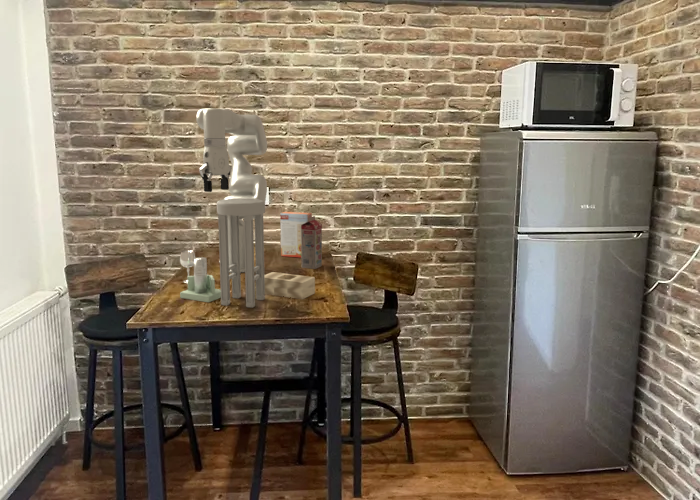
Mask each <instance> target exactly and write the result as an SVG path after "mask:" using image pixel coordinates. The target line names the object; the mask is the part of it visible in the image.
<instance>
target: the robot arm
mask: <svg viewBox="0 0 700 500" xmlns="http://www.w3.org/2000/svg"><path fill="white" fill-rule="evenodd" d="M195 121H196V124H197V126H198V127H199V128H200V129H201V130H203V142H204V143H203V145H204V147H203V154H202V156H203V157H202V166H201V167H199V169H198V171H199V174H200V177H201V179H202V181H203V191H204V193H205V192H206V193H212V192H213V184H212V183H213V181H212V180H211V179H212V177H213V176H220V189H221V190H223V191H226V190H228V191H229V193H230V195H227V196H226V197H224V198H223V199H222V200H224V199H243V198H245V199H259V200H263V201H264V202H265V203H266V200H267V194H268V193H267V192H268V182H267V179H266V177H265V176H264V175H262V174H253V173H252V171H253V166H252V165H251V163H250V162H249V160H248V159H247V158H245V156H261V155H265V153H267V149H268V142H267V141H268V139H267V136H266V131H265V128H264V124H263V121H262V119H261V117H260V116H259V115H257V114H238V113H237V112H235V111H233V110H231V109H229V108H216V107H214V108H212V107H211V108H210V107H209V108H201V109H199V110H198V111H197V113H196V118H195ZM226 134H230V135H231V136H229V137H228V138H227V140H226ZM244 155H245V156H244ZM230 162H231V165H230ZM227 217H228V249H229V266H230V265H231V234H230V216H229V215H227ZM253 220H255V215H253ZM239 242H240V274H241V273H245V244H244V216H239ZM218 264H220V260H219V261H218ZM229 274H232V270H230V271H229Z"/></svg>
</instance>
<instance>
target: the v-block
mask: <svg viewBox="0 0 700 500" xmlns="http://www.w3.org/2000/svg"><path fill="white" fill-rule="evenodd" d="M187 279H188V283H187V289H186V290H183V291H180V293H179V296H180V299H185V300H191V301H198V302H205V303H211V302H213V301H215V300H219V299H221V288H220V289H219V288H216V281H215V277H214V275H212V274H207V293H202V294H198V293H195V287H194V275H189V276H188V275H187V278H186V280H187Z"/></svg>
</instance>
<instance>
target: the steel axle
mask: <svg viewBox="0 0 700 500" xmlns="http://www.w3.org/2000/svg"><path fill="white" fill-rule="evenodd" d="M207 260H208V259H207V257H198V256H197V257H195V258H194V265H193V276H194V287H195V293H198V294H202V293H207V275H208V261H207Z"/></svg>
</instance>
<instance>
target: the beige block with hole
mask: <svg viewBox="0 0 700 500" xmlns="http://www.w3.org/2000/svg"><path fill="white" fill-rule="evenodd" d="M264 277H265V295H269V296H270V295H271V296H277V297H283V296H284V297H285V298H290V297H291V299H297V300H304V299H306V298H308V297H310V296H313V295H314V294H315V293H316V278H315V276H308V275H307V276H306V275H299V274H293V273H292V274H290V273H284V272H276V271H275V272H274V271H272V272H269V273H267V274H264Z"/></svg>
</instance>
